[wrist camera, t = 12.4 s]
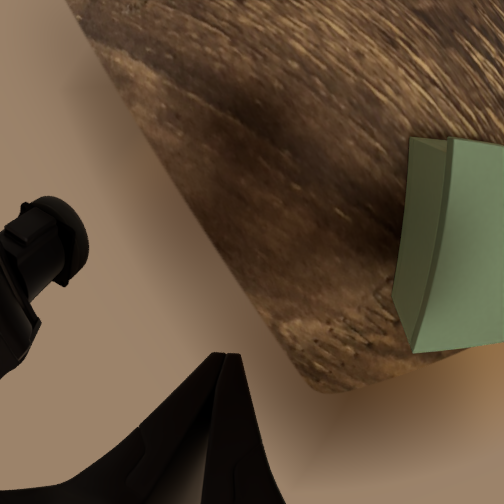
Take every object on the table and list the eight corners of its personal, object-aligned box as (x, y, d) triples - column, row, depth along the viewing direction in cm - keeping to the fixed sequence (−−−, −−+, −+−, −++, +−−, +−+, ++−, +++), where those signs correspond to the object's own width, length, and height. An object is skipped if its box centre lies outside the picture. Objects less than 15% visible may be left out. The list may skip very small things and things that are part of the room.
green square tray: (409, 136, 17) (445, 152, 13) (538, 156, 16) (582, 176, 11) (390, 296, 22) (409, 344, 18) (507, 290, 21) (536, 328, 16)
